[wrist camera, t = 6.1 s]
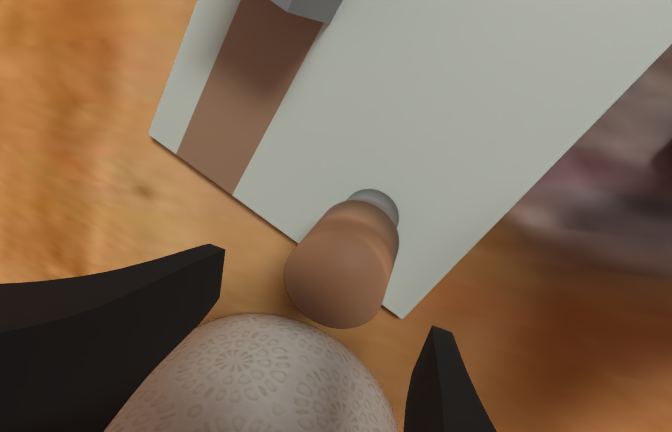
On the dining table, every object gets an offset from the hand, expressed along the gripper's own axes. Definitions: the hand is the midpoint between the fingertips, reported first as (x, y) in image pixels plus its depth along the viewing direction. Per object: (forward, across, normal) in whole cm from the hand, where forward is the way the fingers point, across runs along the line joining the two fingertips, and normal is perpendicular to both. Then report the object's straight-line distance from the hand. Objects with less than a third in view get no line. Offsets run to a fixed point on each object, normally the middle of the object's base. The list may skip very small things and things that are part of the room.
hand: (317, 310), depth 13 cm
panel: (+9, +2, -8) cm, 12 cm away
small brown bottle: (+9, 0, 0) cm, 9 cm away
